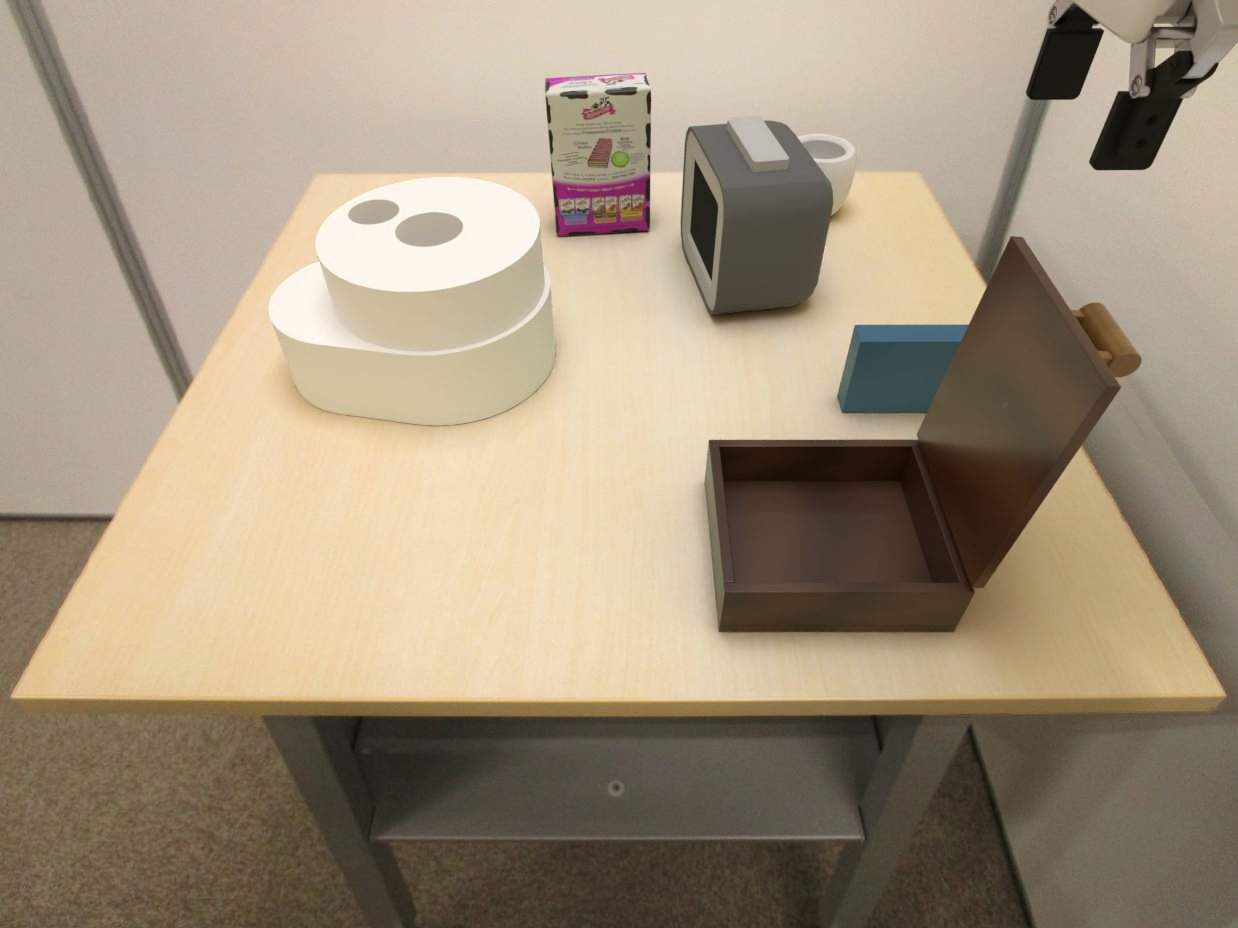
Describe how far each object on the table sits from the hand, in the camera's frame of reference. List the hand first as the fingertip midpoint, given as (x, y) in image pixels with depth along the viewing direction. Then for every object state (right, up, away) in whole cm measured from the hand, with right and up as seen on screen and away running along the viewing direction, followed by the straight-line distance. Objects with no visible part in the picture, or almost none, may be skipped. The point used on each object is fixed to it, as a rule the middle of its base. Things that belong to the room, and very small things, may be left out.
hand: (1082, 130), depth 48 cm
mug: (-4, +10, +50) cm, 51 cm away
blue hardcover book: (-1, -14, +26) cm, 30 cm away
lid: (-3, -17, +4) cm, 17 cm away
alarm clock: (-13, +1, +41) cm, 43 cm away
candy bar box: (-29, +9, +49) cm, 58 cm away
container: (-46, -9, +31) cm, 56 cm away
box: (-12, -26, +15) cm, 32 cm away
